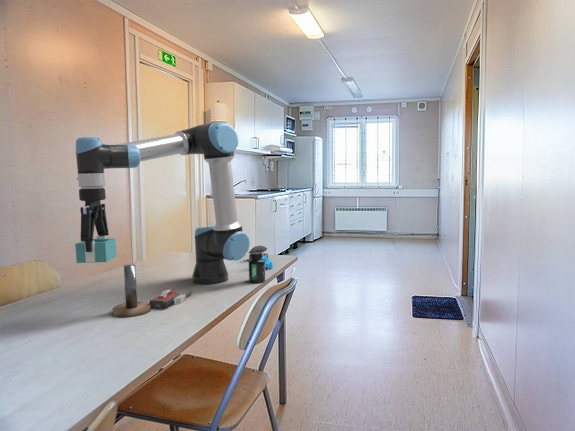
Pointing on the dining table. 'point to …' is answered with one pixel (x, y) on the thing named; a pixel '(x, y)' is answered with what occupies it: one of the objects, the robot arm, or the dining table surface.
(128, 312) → the post base
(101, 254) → the collar
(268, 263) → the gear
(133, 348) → the dining table surface
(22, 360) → the dining table surface
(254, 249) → the dark mushroom
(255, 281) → the supplement bottle
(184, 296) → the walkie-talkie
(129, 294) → the post
